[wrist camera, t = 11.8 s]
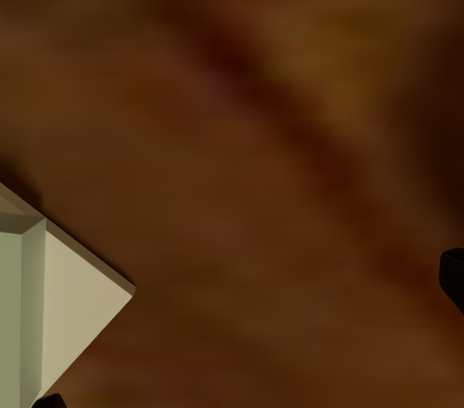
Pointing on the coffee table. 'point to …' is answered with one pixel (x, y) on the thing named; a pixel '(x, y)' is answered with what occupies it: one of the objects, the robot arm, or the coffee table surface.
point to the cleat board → (47, 301)
